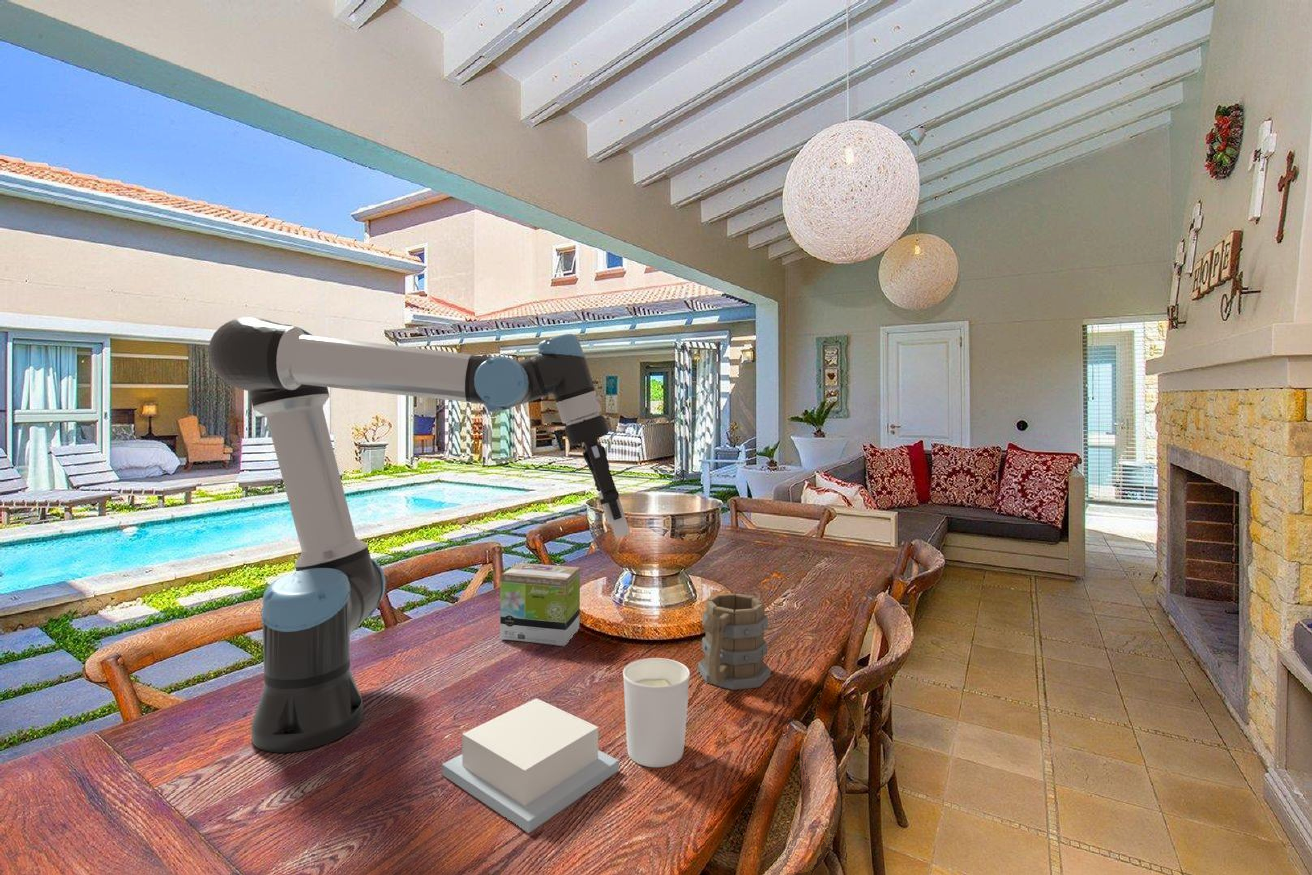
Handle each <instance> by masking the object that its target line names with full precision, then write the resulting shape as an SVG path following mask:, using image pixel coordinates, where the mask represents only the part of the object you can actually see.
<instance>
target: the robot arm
mask: <svg viewBox="0 0 1312 875" xmlns="http://www.w3.org/2000/svg"><path fill="white" fill-rule="evenodd" d="M537 348H538V351H537V353H538V354H536V355H533V356H531V357H527V358H525V359H521V360H514V359H513V358H511V357H507V356H502V355H501V356H498V355H496V356H486V355H476V354H474V355H473V354H472V353H471V354H469V353H460V352H452V351H443V350H438V349H427V348H421V347H420V348H419V347H409V346H402V345H395V344H385V343H377V342H369V341H360V340H353V339H351V340H350V339H343V338H335V337H329V336H328V337H326V336H317V335H314V334H312V333H310V332H308V331H307V330H305V329H304V328H302V327H298V326H294V325H292V324H291V325H290V324H284V323H283V324H282V323H279V322H275V321H271V320H269V319H264V318H260V317H255V316H253V317H251V316H249V317H248V316H247V317H246V316H245V317H238V318H234V319H231V320H229V321H227V322H225V323H223V325H221V326H220V327H219V328H218V329H217V330H216V331H215V332H214V333H213V335H212V337H211V338H210V341H209V344H208V358H209V359H208V360H209V362H210V365H211V367H212V369H213V370H214V372H215V373H216V374H217V376H218V377H219V378H220V379H221V380H222V381H224V383H227V384H229V385H230V386H232V387H234V388H237V389H239V390H243V391H247V392H248V394H249V398H250V401H251V406H252V408H253V410H254V411H256V412H258V413H260V414H262V415H263V416H264V417H265V418H266V420H267V421H266V422H267V425H268V428H269V431H270V436H271V439H272V444H273V448H274V451H275V455H276V458H277V462H278V466H279V470H280V474H281V478H282V481H283V486H284V489H285V492H286V497H287V501H288V503H289V508H290V512H291V515H292V516H291V517H292V520H293V524H294V527H295V530H296V534H297V539H298V541H299V545H300V549H301V553H300V555H299V557H298V558H297V560H296V561H295V563H294V567H295V572H294V573H287V574H285V575H283V576H281V577H278V578H277V579H275V580H273V582H271V583H270V584H268V586H267V587H266V589H265V591H264V593H263V597H262V607H261V610H260V613H261V614H260V617H261V620H262V621H261V622H262V648H263V681H264V683H263V684H264V685H263V688H262V692H261V694H260V698H259V701H258V704H257V706H256V709H255V712H254V715H253V718H252V722H251V727H250V728H251V730H250V731H251V733H250V734H251V743H252V744H253V746H255V748H257V749H259V750H261V751H265V752H269V753H293V752H301V751H302V752H303V751H306V750H310V749H314V748H318V747H321V746H324V745H327V744H330V743H332V742H334V741H337V740H339V739H341V738H343V737H345V736H346V735H348V734H350V733H351V732H352V731H353V730H355V729H356V728H357V727H358V726H359V725H361V724H360V723H361V722H362V721H363V718H364V701H363V698H362V696H361V692H360V690H359V688H358V685H357V683H356V680H355V678H354V676H353V673H352V671H351V634H352V632H354V631H355V630H356V628H358V627H359V626H360V625H361V624H362V623H363V622H364V621H365V620H367V619H368V618H369V617H371V616H372V614H373V613H374V612H375V611H376V609H377V608H378V606H379V605H380V604H381V601H382V600H383V598H384V595H385V592H386V584H387V583H386V577H385V576H386V575H385V573H384V570H383V568H382V567H381V565H380V564H379V563H378V562H377V561H376V560H374V559H373V558H372V557H371V553H370V551H369V550H370V549H369V546H368V543H366V542H364V541H362V540H361V539H359V538H358V537H357V536H356V534H355V530H354V526H353V522H352V518H351V514H350V509H349V506H348V502H347V498H346V495H345V491H344V487H343V483H342V479H341V475H340V471H339V466H338V463H337V458H336V455H335V450H334V448H333V447H334V446H333V443H332V439H331V435H330V431H329V428H328V423H327V420H326V415H325V412H324V405H325V404H326V402H328V399H329V398H330V393H329V392H330V391H329V388H334V389H340V390H351V391H359V392H371V393H379V394H380V393H381V394H387V395H396V396H397V395H399V396H406V397H407V396H408V397H409V396H410V397H417V398H418V397H419V398H427V399H435V400H437V399H438V400H446V401H453V402H454V401H455V402H464V403H465V402H466V403H471V404H480V405H484V407H485V408H486V410H487V411H488V412H489V413H496V412H500V411H505V410H510V409H511V408H514V407H518V406H520V405H522V404H526V403H529V402H532V401H535V400H538V399H541V398H544V397H548V396H550V395H553V398H554V400H555V405H556V408H557V411H558V414H559V418H560V420H561V423H562V424H565V428H564V432H565V435H566V438H567V440H568V444H569V445H570V446H576V445H577V446H578V445H581V444H583V445H582V446H583V450H584V451H583V452H582V456H583V458H584V461H585V462H586V464H587V467H588V470H589V471H590V473H591V474H592V478H593V481H594V487H596V490H597V493H598V498H599V502H600V505H601V507H602V509H603V512H604V513H603V514H604V515H605V519H606V521H607V525H610V526H611V528H612V532H613V534H614V538H615V539H616V540H617V539H619V538H623V537H626V536H628V535H631V531H630V528H629V525H628V521H627V519H626V516H625V513H624V509H623V506H622V503H621V500H620V493H619V491H618V490H617V487H616V485H615V481H614V479H613V476H612V473H611V470H610V462H609V461H608V458H607V451H606V449H605V446H603V445H602V444H601V443H599V441H598V439H599V438H602V437H604V436H606V435H608V434H609V432H610V431H609V428H608V424H607V422H606V418H605V416H603V414H600V413H602V406H601V404H600V402H599V401H601V400H602V396H601V394H598V395H597V391H596V388H595V385H594V382H593V379H592V375H591V372H590V369H589V365H588V362H587V359H586V355H585V354H584V350H583V348H582V345H581V342H580V340H579V338H578V336H576V335H575V334H573V333H566V334H565V333H564V334H561V335H557V336H553V337H551V338H548V339H545V340H542V341H540V342H539V343H538V344H537Z"/></svg>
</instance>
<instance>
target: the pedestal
mask: <svg viewBox="0 0 1312 875" xmlns="http://www.w3.org/2000/svg"><path fill="white" fill-rule="evenodd" d="M461 735H462V736H461V738H462V739H461V745H462V746H461V747H462V748H461V749H462V750H461V754H458V756H455V757H453V758H451V759H449V760H448V761H445V762H443V763H441V775H442V776H443V777H445V778H446V779H447V780H449V781H451V782H452V783H454V784H455V785H457V786H458V787H460V788H461V789H462V790H463V791H466V792H467V793H468V794H469V795H471V796H472V797H474V798H475V799H477V800H478V801H480V802H481V803H483V804H484V805H486V806H487V807H489V808H490V809H492V810H493V811H494V812H497V813H498V814H499V815H501V816H502V817H504V818H505V817H506V818H507V819H506V818H505V819H506V820H508V821H509V820H510V821H509V822H511V821H512V822H514V823H515V824H516V826H517V825H518V826H519V827H518V826H517V827H518V828H520V829H521V828H522V830H523V831H524V832H525V833H527V834H530V833H531V832H533V831H534V830H536V829H537V828H539V827H541V826H542V825H543V824H544V823H546V822H547V821H548V820H550V819H552V818H553V817H555V816H556V815H557V814H558V813H560V812H561V811H563V810H564V809H566V808H567V807H569V806H570V805H572V804H574V802H576V801H577V800H579V799H580V798H582V797H583V796H585V795H586V794H587V793H589V792H590V791H591V790H593V789H594V788H596V787H598V786H599V785H600V784H602V783H603V782H604V781H606V780H608V779H609V778H610V777H612V776H613V775H615V774H616V773H618V772H619V771H620V770H619V768H620V767H619V766H620V765H619V764H620V763H619V762H620V761H619V759H618V758H615V757H613V756H611V755H609V754H607V753H605V752H604V751H601V750H599V726H598V725H596V724H593V723H591V722H588V721H586V720H585V719H582V718H580V717H577V716H576V715H573V714H571V713H569V712H567V711H564V710H563V709H560V708H558V707H556V706H554V705H552V704H550V703H547V702H545V701H543V700H541V699H539V698H537V697H536V698H533V699H532V700H529V701H528V702H526V703H523V704H522V705H519V706H517V707H515V708H513V709H511V710H509V711H507V712H505V713H503V714H500V715H499V716H496V717H494V718H492V719H490V720H488V721H486V722H484V723H482V724H480V725H477V726H476V727H473V728H471V729H469V730H468V731H465V732H462V734H461ZM512 822H511V823H512ZM514 823H513V824H514ZM515 824H514V825H515Z"/></svg>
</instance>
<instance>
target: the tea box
mask: <svg viewBox="0 0 1312 875" xmlns="http://www.w3.org/2000/svg"><path fill="white" fill-rule="evenodd" d="M499 588H500V595H499V596H500V599H499V600H500V607H499V610H500V614H499V622H500V623H499V628H500V629H499V630H500V632H499V634H500V635H499V636H500V640H501V641H503V640H504V641H505V640H506V641H516V642H517V641H518V642H527V643H528V642H529V643H535V644H536V643H537V644H541V645H543V644H544V645H550V646H552V645H553V646H560V647H565V645H567V644H568V643H570V641H571V640H572V638H573V637H574V636H575V635H576V634H577V632H578V631H579V630H578V629H580V615H581V614H580V608H581V607H580V606H581V604H580V603H581V602H580V601H581V600H580V599H581V567H579V566H566V565H553V564H539V563H529V562H527V563H526V562H517V563H516V564H514V565H513V566H512V567H510V568H508V569H507V570H506V571H504V572H503V573H501V574H500V587H499ZM575 633H576V634H575ZM574 634H575V635H574ZM573 635H574V636H573ZM570 639H571V640H570ZM569 640H570V641H569Z"/></svg>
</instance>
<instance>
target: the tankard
mask: <svg viewBox="0 0 1312 875" xmlns="http://www.w3.org/2000/svg"><path fill="white" fill-rule="evenodd" d="M768 619H769V618H768V616H767V615H766V614H765V603H763V602H762V601H761V600H759V599H758V598H757V597H755V596H753V595H746V594H741V593H736V592H735V593H723V594H715V595H713V596H711V597H710V598H708V599H707V600H706V601H705V611H704V612H703V613H702V627H703V630H704V632H705V636H703V637H702V639H701V650H702V651H703V653H705V654H704V656H705V657H704V658H703V659H701V661H699V662H698V663H697V672H698V673H699V672H700V673H699V674H700V675H701V677H702V678H703V680H704V681H705V683H707V684H708V683H709V685H712V684H713V686H716V687H720V688H723V689H727V690H730V691H737V690H745V689H746V690H748V689H755V688H760V687H761V686H762V685H763V684H765V682H766V681H768V679H769V678H770V677H771V667H769V666H768V665H767V664H766V663H765V662H764V657H765V656H766V655H767V653H768V642H767V641H766V640H765V638H764V636H765V633H764V632H765V631H766V630H767V629H768V625H769V624H768V623H769V622H768V621H769V620H768Z"/></svg>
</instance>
